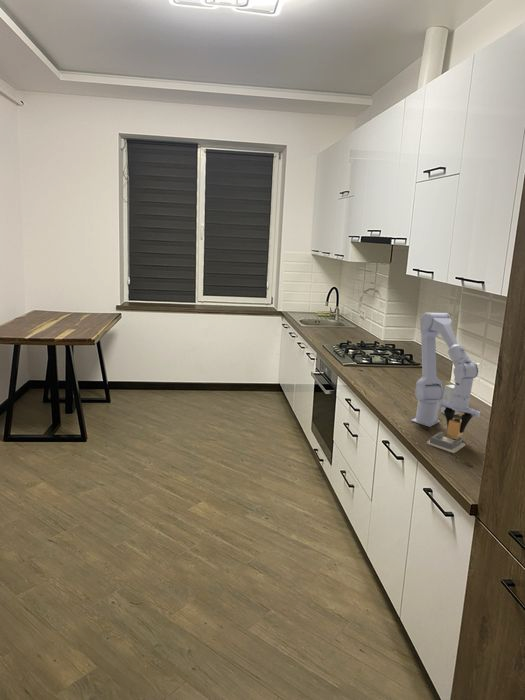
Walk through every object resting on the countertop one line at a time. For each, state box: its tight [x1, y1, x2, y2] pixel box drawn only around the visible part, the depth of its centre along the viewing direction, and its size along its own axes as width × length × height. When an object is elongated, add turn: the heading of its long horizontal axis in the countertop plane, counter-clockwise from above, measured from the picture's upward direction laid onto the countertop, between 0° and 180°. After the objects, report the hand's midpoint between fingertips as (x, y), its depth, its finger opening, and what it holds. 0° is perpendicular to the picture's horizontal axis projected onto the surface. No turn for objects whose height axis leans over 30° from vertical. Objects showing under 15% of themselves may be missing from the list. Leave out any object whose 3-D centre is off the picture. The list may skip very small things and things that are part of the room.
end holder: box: [426, 431, 466, 454], centre depth 183 cm, size 10×10×3 cm
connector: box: [446, 417, 464, 438], centre depth 189 cm, size 7×4×6 cm, turn 138°
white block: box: [440, 384, 459, 416], centre depth 218 cm, size 6×4×12 cm
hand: (455, 430), depth 188 cm, fingers closed on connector, 4 cm apart
